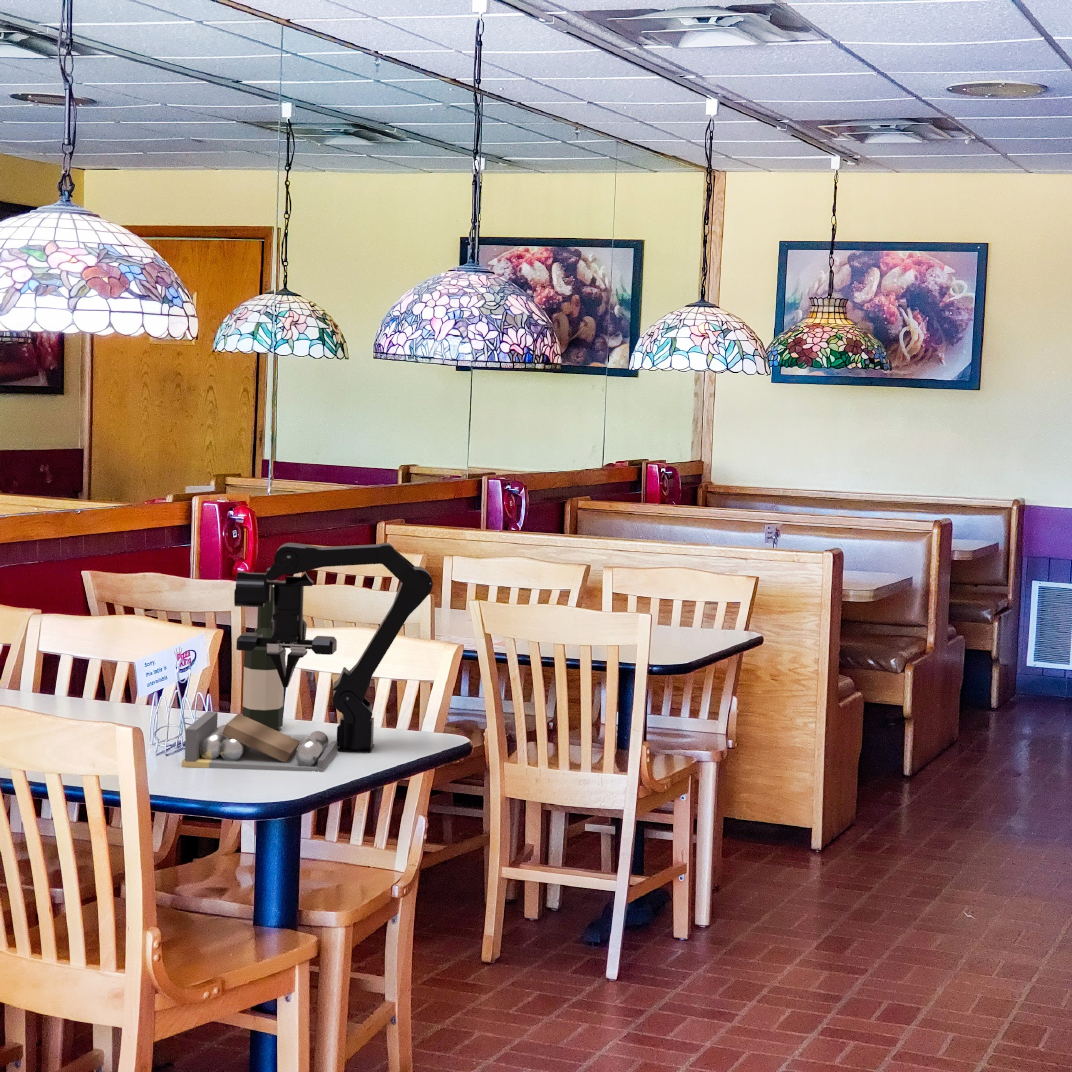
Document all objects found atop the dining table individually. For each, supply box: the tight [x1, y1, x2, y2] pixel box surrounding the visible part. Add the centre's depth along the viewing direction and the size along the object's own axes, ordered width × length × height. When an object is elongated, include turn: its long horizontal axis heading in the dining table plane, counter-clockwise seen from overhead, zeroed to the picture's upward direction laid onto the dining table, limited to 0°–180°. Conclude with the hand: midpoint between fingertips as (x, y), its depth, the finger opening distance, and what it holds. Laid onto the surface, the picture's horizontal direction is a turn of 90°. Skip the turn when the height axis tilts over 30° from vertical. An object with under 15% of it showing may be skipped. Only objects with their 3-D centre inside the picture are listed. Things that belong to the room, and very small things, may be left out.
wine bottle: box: [242, 585, 286, 730], centre depth 306 cm, size 8×8×30 cm
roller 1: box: [199, 724, 229, 760], centre depth 278 cm, size 12×4×4 cm
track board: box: [181, 711, 338, 773], centre depth 278 cm, size 26×16×7 cm, turn 88°
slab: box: [222, 713, 301, 763], centre depth 278 cm, size 13×10×2 cm
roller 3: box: [296, 730, 330, 766], centre depth 277 cm, size 12×4×4 cm, turn 178°
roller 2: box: [220, 737, 249, 761], centre depth 278 cm, size 12×4×4 cm
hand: (285, 687), depth 288 cm, fingers closed
